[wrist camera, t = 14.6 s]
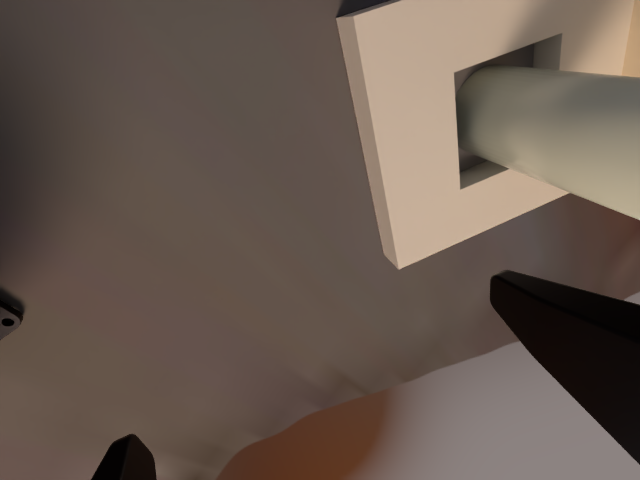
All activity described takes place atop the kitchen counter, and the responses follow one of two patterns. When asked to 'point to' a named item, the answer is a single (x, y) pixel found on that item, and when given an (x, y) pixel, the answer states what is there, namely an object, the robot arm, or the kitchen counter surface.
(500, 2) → the light wood frame
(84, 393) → the kitchen counter surface
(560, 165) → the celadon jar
